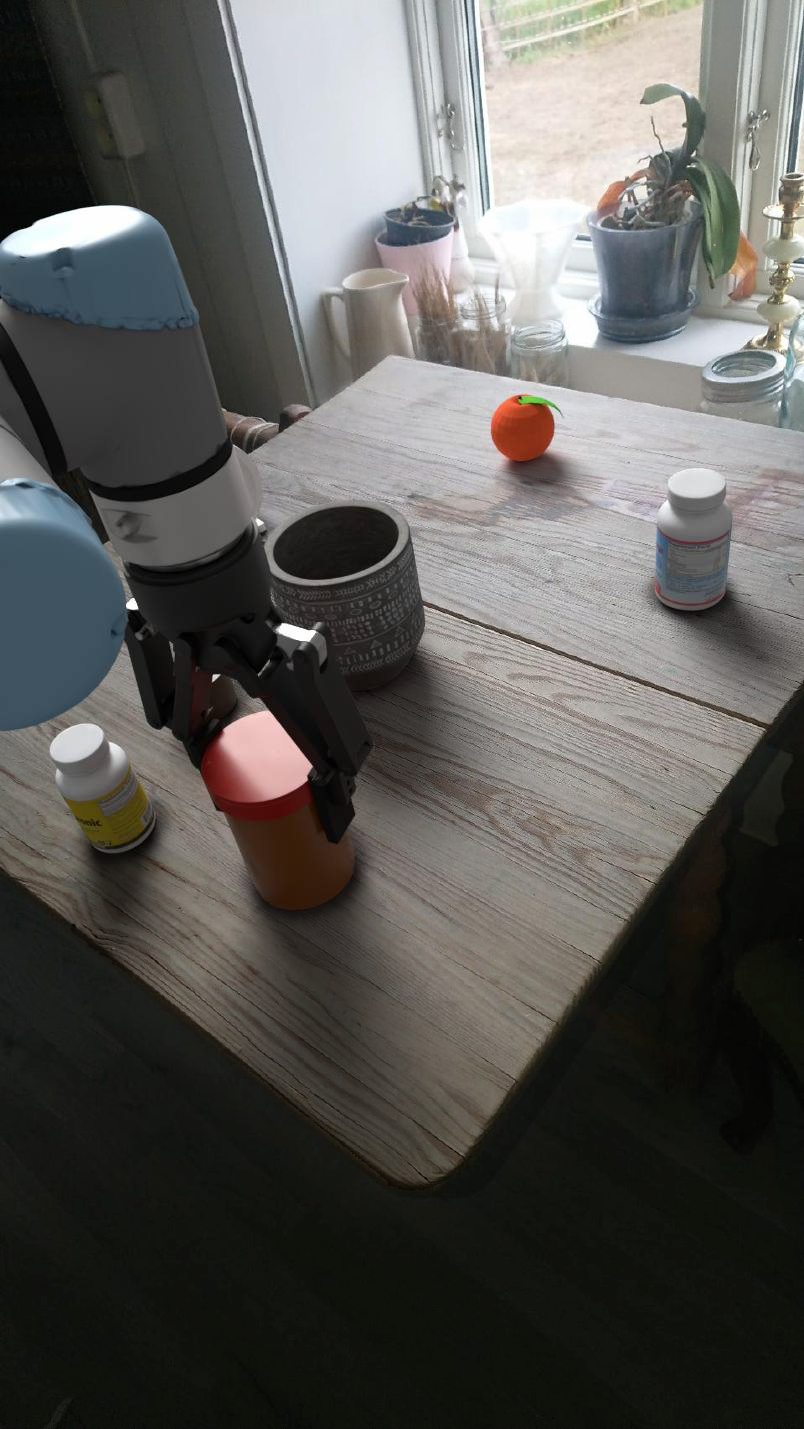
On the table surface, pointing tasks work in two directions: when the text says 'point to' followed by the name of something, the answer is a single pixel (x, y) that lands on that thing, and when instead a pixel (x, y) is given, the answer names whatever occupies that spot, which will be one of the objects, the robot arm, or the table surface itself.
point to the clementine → (523, 427)
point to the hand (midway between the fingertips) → (284, 812)
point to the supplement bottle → (101, 789)
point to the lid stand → (221, 697)
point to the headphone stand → (252, 484)
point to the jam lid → (256, 770)
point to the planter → (351, 585)
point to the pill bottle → (693, 540)
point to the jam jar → (294, 858)
